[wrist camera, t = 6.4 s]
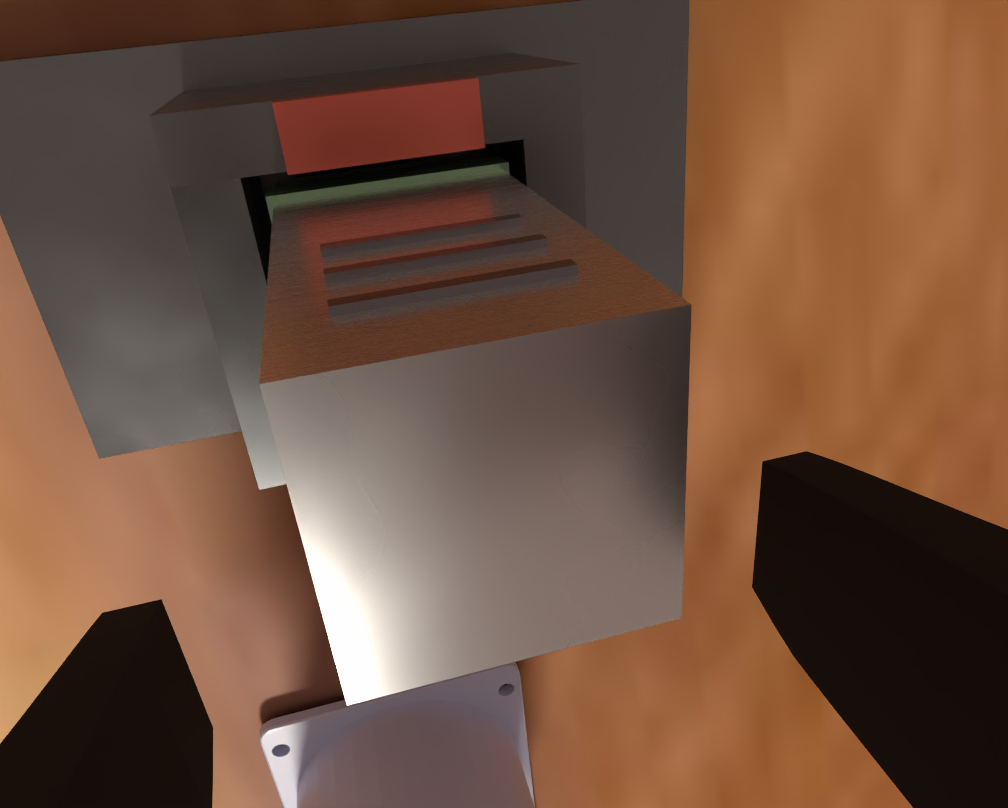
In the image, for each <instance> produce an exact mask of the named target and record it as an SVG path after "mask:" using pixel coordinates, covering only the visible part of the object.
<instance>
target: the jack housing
mask: <svg viewBox="0 0 1008 808" xmlns="http://www.w3.org/2000/svg"><path fill="white" fill-rule="evenodd" d="M688 35H689V0H576V1H567V2H557V3H547V4H538V5H528V6H519V7H509V8H500V9H490V10H480V11H471V12H461V13H452V14H442V15H433V16H423V17H413V18H404V19H394V20H385V21H375V22H366V23H356V24H346V25H337V26H327V27H318V28H308V29H299V30H289V31H280V32H270V33H260V34H251V35H241V36H232V37H222V38H213V39H203V40H193V41H184V42H174V43H165V44H155V45H146V46H136V47H126V48H117V49H107V50H98V51H88V52H79V53H69V54H60V55H50V56H40V57H31V58H21V59H12V60H2V61H0V216H1V218H2V220H3V223H4V225H5V228H6V230H7V233H8V235H9V238H10V240H11V243H12V245H13V247H14V250H15V252H16V255H17V257H18V260H19V262H20V265H21V267H22V270H23V272H24V275H25V277H26V279H27V282H28V284H29V287H30V289H31V292H32V294H33V297H34V299H35V302H36V304H37V306H38V309H39V311H40V314H41V316H42V319H43V321H44V324H45V326H46V329H47V331H48V334H49V336H50V338H51V341H52V343H53V346H54V348H55V351H56V353H57V356H58V358H59V361H60V363H61V365H62V368H63V370H64V373H65V375H66V378H67V380H68V383H69V385H70V388H71V390H72V393H73V395H74V397H75V400H76V402H77V405H78V407H79V410H80V412H81V415H82V417H83V420H84V422H85V424H86V427H87V429H88V432H89V434H90V437H91V439H92V442H93V444H94V447H95V449H96V452H97V454H98V456H99V459H100V458H105V457H110V456H115V455H120V454H125V453H131V452H136V451H141V450H146V449H151V448H156V447H162V446H167V445H172V444H177V443H182V442H187V441H192V440H198V439H203V438H208V437H213V436H218V435H223V434H229V433H234V432H239V431H242V433H243V436H244V440H245V443H246V446H247V450H248V453H249V457H250V460H251V463H252V467H253V470H254V474H255V477H256V480H257V484H258V487H259V490H261V489H266V488H270V487H275V486H280V485H285V484H286V480H285V477H284V473H283V469H282V466H281V462H280V458H279V455H278V451H277V447H276V444H275V440H274V436H273V432H272V429H271V425H270V421H269V418H268V414H267V410H266V407H265V403H264V399H263V396H262V392H261V388H260V385H259V382H260V369H261V356H262V344H263V331H264V318H265V306H266V293H267V280H268V268H269V255H270V242H271V230H272V223H271V219H270V214H269V210H268V206H267V202H266V198H265V196H266V188H268V187H275V181H277V180H284V179H292V178H299V177H306V176H313V175H320V174H328V173H335V172H342V171H349V170H357V169H364V168H371V167H378V166H385V165H393V164H400V163H407V162H414V161H422V160H429V159H436V158H443V157H450V156H458V155H465V154H472V153H481V154H482V155H484V156H485V157H490V156H497V155H498V156H500V157H501V158H503V159H504V160H506V161H507V162H509V173H510V175H511V176H513V177H514V178H516V179H517V180H518V181H520V182H521V183H523V184H524V185H525V186H527V187H528V188H530V189H531V190H532V191H534V192H535V193H537V194H538V195H539V196H541V197H542V198H543V199H545V200H546V201H548V202H549V203H550V204H552V205H553V206H555V207H556V208H557V209H559V210H560V211H562V212H563V213H564V214H566V215H567V216H569V217H570V218H571V219H573V220H574V221H576V222H577V223H578V224H580V225H581V226H583V227H584V228H585V229H587V230H588V231H590V232H591V233H592V234H594V235H595V236H596V237H598V238H599V239H601V240H602V241H603V242H605V243H606V244H608V245H609V246H610V247H612V248H613V249H615V250H616V251H617V252H619V253H620V254H622V255H623V256H624V257H626V258H627V259H629V260H630V261H631V262H633V263H634V264H636V265H637V266H638V267H640V268H641V269H642V270H644V271H645V272H647V273H648V274H649V275H651V276H652V277H654V278H655V279H656V280H658V281H659V282H661V283H662V284H663V285H665V286H666V287H668V288H669V289H670V290H672V291H673V292H675V293H676V294H677V295H679V296H680V297H682V279H683V239H684V198H685V157H686V116H687V75H688Z"/></svg>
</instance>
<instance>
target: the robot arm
mask: <svg viewBox="0 0 1008 808" xmlns="http://www.w3.org/2000/svg"><path fill="white" fill-rule="evenodd" d="M752 588H753V589H754V591H755V593H756V594H757V596H758V598H759V600H760V601H761V603H762V605H763V607H764V608H765V610H766V612H767V613H768V615H769V617H770V619H771V620H772V622H773V624H774V626H775V627H776V629H777V630H778V632H779V634H780V635H781V637H782V638H783V640H784V641H785V643H786V645H787V646H788V648H789V649H790V651H791V653H792V654H793V656H794V657H795V659H796V660H797V661H798V662H799V664H800V665H801V666H802V668H803V669H804V670H805V672H806V673H807V674H808V676H809V677H810V678H811V679H812V681H813V682H814V683H815V684H816V686H817V687H818V688H819V690H820V691H821V692H822V693H823V695H824V696H825V697H826V699H827V700H828V701H829V702H830V704H831V705H832V706H833V707H834V709H835V710H836V711H837V713H838V714H839V715H840V716H841V718H842V719H843V720H844V721H845V723H846V724H847V725H848V726H849V728H850V729H851V730H852V731H853V733H854V734H855V735H856V736H857V738H858V739H859V740H860V741H861V743H862V744H863V745H864V746H865V748H866V749H867V750H868V751H869V753H870V754H871V755H872V756H873V758H874V759H875V760H876V761H877V763H878V764H879V765H880V767H881V768H882V769H883V770H884V772H885V773H886V774H887V775H888V777H889V778H890V779H891V780H892V782H893V783H894V784H895V785H896V787H897V788H898V789H899V790H900V792H901V793H902V794H903V795H904V797H905V798H906V799H907V800H908V802H909V803H910V804H911V805H912V807H913V808H1008V530H1007V529H1005V528H1002V527H1000V526H997V525H995V524H992V523H989V522H987V521H984V520H982V519H979V518H977V517H974V516H972V515H969V514H967V513H964V512H962V511H959V510H957V509H954V508H952V507H949V506H947V505H944V504H942V503H939V502H937V501H934V500H932V499H929V498H927V497H925V496H922V495H920V494H917V493H915V492H912V491H910V490H907V489H905V488H902V487H900V486H897V485H895V484H893V483H890V482H888V481H885V480H883V479H880V478H878V477H875V476H873V475H870V474H868V473H865V472H863V471H860V470H857V469H855V468H852V467H850V466H847V465H844V464H842V463H839V462H836V461H834V460H831V459H828V458H825V457H822V456H819V455H816V454H813V453H810V452H807V451H806V452H802V453H797V454H793V455H789V456H784V457H780V458H776V459H771V460H767V461H763V464H762V476H761V488H760V500H759V512H758V524H757V536H756V548H755V560H754V572H753V584H752ZM505 684H508V685H506V686H502V685H505ZM260 744H261V747H262V750H263V752H264V755H265V758H266V761H267V763H268V766H269V769H270V772H271V774H272V777H273V780H274V783H275V785H276V788H277V791H278V794H279V796H280V799H281V802H282V805H283V807H284V808H535V804H534V795H533V786H532V777H531V768H530V759H529V750H528V741H527V732H526V723H525V714H524V705H523V696H522V687H521V678H520V672H519V669H518V666H517V664H516V662H512V663H508V664H504V665H501V666H497V667H493V668H489V669H485V670H481V671H478V672H474V673H470V674H466V675H462V676H459V677H455V678H451V679H447V680H443V681H440V682H436V683H432V684H428V685H424V686H421V687H417V688H413V689H409V690H405V691H402V692H398V693H394V694H390V695H386V696H382V697H379V698H375V699H371V700H367V701H363V702H360V703H356V704H352V705H348V706H347V704H346V700H342V701H338V702H335V703H331V704H327V705H323V706H319V707H315V708H312V709H308V710H304V711H300V712H296V713H292V714H289V715H285V716H281V717H277V718H273V719H271V720H269V721H267V722H266V723H264V724H263V725H262V727H261V729H260ZM280 744H285V745H282V746H277V745H280ZM212 790H213V727H212V724H211V722H210V719H209V717H208V714H207V712H206V709H205V707H204V704H203V702H202V699H201V697H200V694H199V692H198V689H197V687H196V684H195V682H194V679H193V677H192V674H191V672H190V669H189V667H188V664H187V662H186V659H185V657H184V654H183V652H182V649H181V647H180V644H179V642H178V640H177V637H176V635H175V632H174V630H173V627H172V625H171V622H170V620H169V617H168V615H167V612H166V610H165V607H164V605H163V602H162V600H157V601H152V602H148V603H143V604H139V605H135V606H130V607H126V608H122V609H117V610H113V611H109V612H104V613H102V614H101V615H100V616H99V618H98V619H97V620H96V621H95V622H94V624H93V625H92V626H91V627H90V629H89V630H88V631H87V632H86V634H85V635H84V636H83V638H82V639H81V640H80V642H79V643H78V644H77V645H76V647H75V648H74V649H73V651H72V652H71V653H70V655H69V656H68V657H67V658H66V660H65V661H64V662H63V664H62V665H61V666H60V668H59V669H58V670H57V672H56V673H55V674H54V675H53V677H52V678H51V679H50V681H49V682H48V683H47V685H46V686H45V687H44V689H43V690H42V691H41V692H40V694H39V695H38V696H37V698H36V699H35V700H34V702H33V703H32V704H31V705H30V707H29V708H28V709H27V711H26V712H25V713H24V714H23V716H22V717H21V718H20V720H19V721H18V722H17V723H16V725H15V726H14V727H13V728H12V730H11V731H10V732H9V734H8V735H7V736H6V737H5V739H4V740H3V741H2V742H1V744H0V808H212Z"/></svg>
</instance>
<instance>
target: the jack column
mask: <svg viewBox="0 0 1008 808" xmlns="http://www.w3.org/2000/svg"><path fill="white" fill-rule="evenodd" d="M265 198H266V202H267V206H268V210H269V214H270V219H271V223H272V230H271V242H270V255H269V268H268V280H267V293H266V306H265V318H264V331H263V344H262V356H261V369H260V382H259V385H260V388H261V392H262V396H263V399H264V403H265V407H266V410H267V414H268V418H269V421H270V425H271V429H272V432H273V436H274V440H275V444H276V447H277V451H278V455H279V458H280V462H281V466H282V469H283V473H284V477H285V480H286V484H287V488H288V491H289V495H290V499H291V502H292V506H293V510H294V513H295V517H296V521H297V524H298V528H299V532H300V535H301V539H302V543H303V546H304V550H305V554H306V557H307V561H308V565H309V568H310V572H311V576H312V579H313V583H314V587H315V590H316V594H317V598H318V601H319V605H320V609H321V612H322V616H323V620H324V623H325V627H326V631H327V634H328V638H329V642H330V645H331V649H332V653H333V656H334V660H335V664H336V667H337V671H338V675H339V678H340V682H341V686H342V689H343V693H344V697H345V700H346V704H347V706H348V705H352V704H356V703H360V702H363V701H367V700H371V699H375V698H379V697H382V696H386V695H390V694H394V693H398V692H402V691H405V690H409V689H413V688H417V687H421V686H424V685H428V684H432V683H436V682H440V681H443V680H447V679H451V678H455V677H459V676H462V675H466V674H470V673H474V672H478V671H481V670H485V669H489V668H493V667H497V666H501V665H504V664H508V663H512V662H516V661H520V660H523V659H527V658H531V657H535V656H539V655H542V654H546V653H550V652H554V651H558V650H561V649H565V648H569V647H573V646H577V645H580V644H584V643H588V642H592V641H596V640H599V639H603V638H607V637H611V636H615V635H619V634H622V633H626V632H630V631H634V630H638V629H641V628H645V627H649V626H653V625H657V624H660V623H664V622H668V621H672V620H676V619H679V618H682V591H683V558H684V526H685V493H686V461H687V428H688V396H689V364H690V331H691V304H690V303H689V302H687V301H686V300H684V299H683V298H682V297H680V296H679V295H677V294H676V293H675V292H673V291H672V290H670V289H669V288H668V287H666V286H665V285H663V284H662V283H661V282H659V281H658V280H656V279H655V278H654V277H652V276H651V275H649V274H648V273H647V272H645V271H644V270H642V269H641V268H640V267H638V266H637V265H636V264H634V263H633V262H631V261H630V260H629V259H627V258H626V257H624V256H623V255H622V254H620V253H619V252H617V251H616V250H615V249H613V248H612V247H610V246H609V245H608V244H606V243H605V242H603V241H602V240H601V239H599V238H598V237H596V236H595V235H594V234H592V233H591V232H590V231H588V230H587V229H585V228H584V227H583V226H581V225H580V224H578V223H577V222H576V221H574V220H573V219H571V218H570V217H569V216H567V215H566V214H564V213H563V212H562V211H560V210H559V209H557V208H556V207H555V206H553V205H552V204H550V203H549V202H548V201H546V200H545V199H543V198H542V197H541V196H539V195H538V194H537V193H535V192H534V191H532V190H531V189H530V188H528V187H527V186H525V185H524V184H523V183H521V182H520V181H518V180H517V179H516V178H514V177H513V176H511V175H510V173H509V162H507V161H506V160H504V159H503V158H501V157H500V156H498V155H497V156H490V157H485V156H484V155H482V154H481V153H472V154H465V155H458V156H450V157H443V158H436V159H429V160H422V161H414V162H407V163H400V164H393V165H385V166H378V167H371V168H364V169H357V170H349V171H342V172H335V173H328V174H320V175H313V176H306V177H299V178H292V179H284V180H277V181H275V187H268V188H266V196H265Z"/></svg>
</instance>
